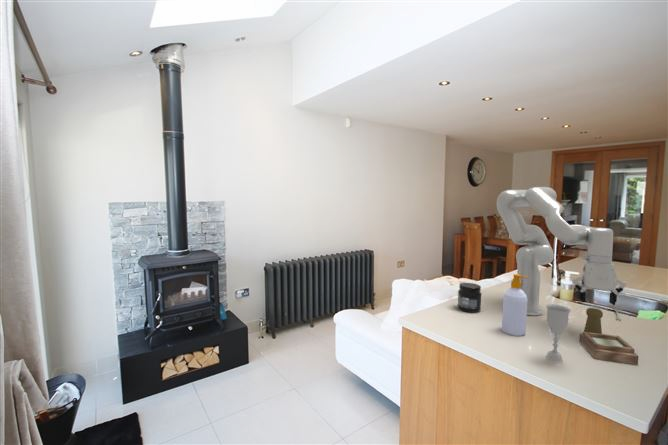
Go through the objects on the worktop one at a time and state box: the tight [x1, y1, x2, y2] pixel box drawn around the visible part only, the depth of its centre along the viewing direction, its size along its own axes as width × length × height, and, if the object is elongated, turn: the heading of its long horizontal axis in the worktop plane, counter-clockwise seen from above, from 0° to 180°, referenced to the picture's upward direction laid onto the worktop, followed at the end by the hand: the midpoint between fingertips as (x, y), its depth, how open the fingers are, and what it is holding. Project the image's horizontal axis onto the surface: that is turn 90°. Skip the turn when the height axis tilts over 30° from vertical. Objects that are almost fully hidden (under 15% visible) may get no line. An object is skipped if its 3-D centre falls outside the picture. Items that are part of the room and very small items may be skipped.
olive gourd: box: [583, 307, 604, 334], centre depth 131 cm, size 6×6×11 cm
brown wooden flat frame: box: [578, 331, 639, 365], centre depth 118 cm, size 12×14×4 cm
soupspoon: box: [606, 304, 625, 322], centre depth 156 cm, size 22×3×7 cm
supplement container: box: [457, 282, 482, 314], centre depth 160 cm, size 10×10×12 cm
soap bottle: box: [501, 273, 529, 337], centre depth 134 cm, size 9×9×24 cm
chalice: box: [545, 303, 571, 364], centre depth 112 cm, size 7×7×18 cm
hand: (597, 302), depth 130 cm, fingers open, 9 cm apart
